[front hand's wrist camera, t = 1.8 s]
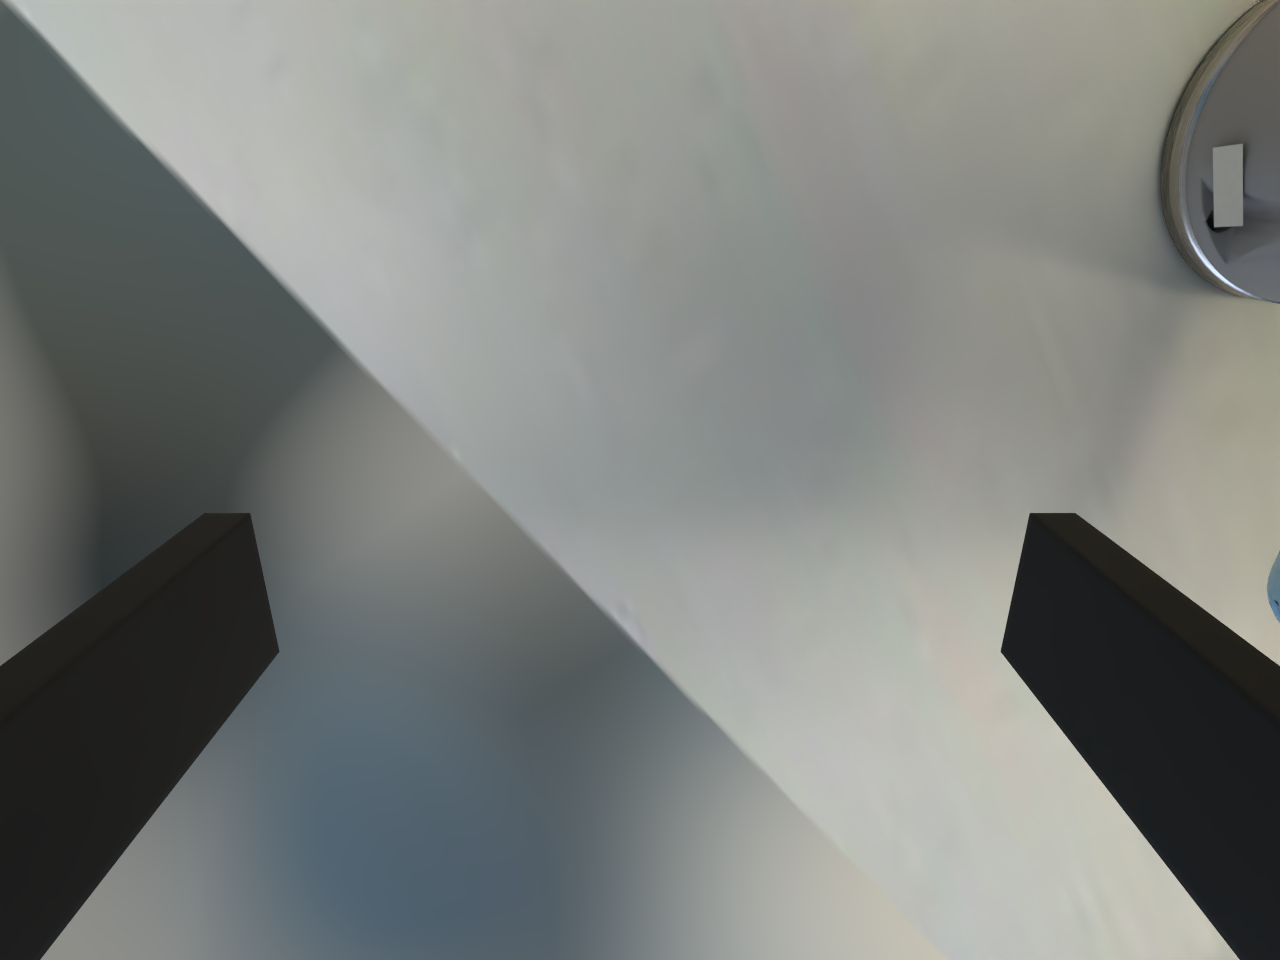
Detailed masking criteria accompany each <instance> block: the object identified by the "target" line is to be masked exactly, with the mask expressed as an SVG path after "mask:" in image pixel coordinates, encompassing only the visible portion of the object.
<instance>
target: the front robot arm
mask: <svg viewBox="0 0 1280 960" xmlns="http://www.w3.org/2000/svg"><path fill="white" fill-rule="evenodd" d="M1161 198H1162V205H1163V212H1164V216H1165V220H1166V224H1167V227H1168V230H1169V232H1170V235H1171V238H1172V240H1173V242H1174V244H1175V246H1176V247H1177V249H1178V251H1179V253H1180V254H1181V255H1182V257H1183V258H1184V260H1185V261H1186V262H1187V263H1188V264H1189V266H1190V267H1191V268H1192V269H1193V270H1194V271H1195V272H1196V273H1197V274H1199V275H1200V276H1201V277H1202V278H1203V279H1205V280H1206V281H1208V282H1209V283H1211V284H1212V285H1214V286H1216V287H1218V288H1220V289H1222V290H1224V291H1226V292H1229V293H1232V294H1235V295H1238V296H1242V297H1247V298H1251V299H1257V300H1262V301H1268V302H1273V303H1280V0H1262V1H1261V2H1260V3H1258V4H1257V5H1256V6H1255V7H1253V8H1252V9H1251V10H1250V11H1248V12H1247V13H1246V14H1245V15H1244V16H1243V17H1242V18H1241V19H1240V20H1238V21H1237V22H1236V23H1235V24H1234V25H1233V26H1232V27H1231V28H1230V29H1229V30H1228V32H1227V33H1226V34H1225V35H1224V36H1223V37H1222V38H1221V39H1220V40H1219V42H1218V43H1217V44H1216V45H1215V46H1214V48H1213V49H1212V50H1211V51H1210V53H1209V54H1208V55H1207V57H1206V58H1205V60H1204V61H1203V62H1202V64H1201V65H1200V67H1199V68H1198V70H1197V71H1196V73H1195V75H1194V76H1193V78H1192V80H1191V81H1190V83H1189V85H1188V87H1187V89H1186V91H1185V93H1184V95H1183V96H1182V98H1181V100H1180V103H1179V105H1178V108H1177V110H1176V112H1175V115H1174V117H1173V120H1172V123H1171V126H1170V130H1169V133H1168V136H1167V140H1166V145H1165V149H1164V155H1163V162H1162V170H1161ZM1267 592H1268V600H1269V603H1270V605H1271V608H1272V610H1273V612H1274V615H1275V617H1276V619H1277V620H1278V621H1279V622H1280V551H1279V554H1278V556H1277V558H1276V560H1275V562H1274V564H1273V567H1272V569H1271V572H1270V574H1269V578H1268V584H1267ZM278 653H279V648H278V643H277V639H276V634H275V629H274V624H273V619H272V615H271V610H270V605H269V601H268V596H267V591H266V586H265V582H264V577H263V572H262V567H261V563H260V558H259V553H258V548H257V544H256V539H255V534H254V529H253V525H252V520H251V515H250V513H204V514H203V515H202V516H200V517H199V518H198V519H196V520H195V521H194V522H192V523H191V524H189V525H188V526H187V527H186V528H184V529H183V530H181V531H180V532H179V533H177V534H176V535H175V536H173V537H172V538H171V539H169V540H168V541H167V542H165V543H164V544H163V545H161V546H160V547H159V548H157V549H156V550H155V551H153V552H152V553H151V554H149V555H148V556H147V557H145V558H144V559H143V560H141V561H140V562H139V563H137V564H136V565H135V566H133V567H132V568H131V569H129V570H128V571H127V572H125V573H124V574H123V575H121V576H120V577H119V578H117V579H116V580H115V581H113V582H112V583H111V584H109V585H108V586H107V587H105V588H104V589H103V590H101V591H100V592H99V593H97V594H96V595H95V596H93V597H92V598H91V599H89V600H88V601H87V602H85V603H84V604H83V605H81V606H80V607H79V608H77V609H76V610H75V611H73V612H72V613H71V614H69V615H68V616H67V617H65V618H64V619H63V620H61V621H60V622H59V623H57V624H56V625H55V626H53V627H52V628H51V629H49V630H48V631H47V632H45V633H44V634H43V635H41V636H40V637H39V638H37V639H36V640H35V641H33V642H32V643H31V644H29V645H28V646H27V647H25V648H24V649H23V650H21V651H20V652H19V653H17V654H16V655H15V656H13V657H12V658H11V659H9V660H8V661H7V662H5V663H4V664H3V665H1V666H0V960H40V959H41V958H42V957H43V955H44V954H45V953H46V951H47V950H48V949H49V948H50V946H51V945H52V944H53V942H54V941H55V940H56V939H57V937H58V936H59V935H60V933H61V932H62V931H63V930H64V928H65V927H66V926H67V924H68V923H69V922H70V921H71V919H72V918H73V917H74V915H75V914H76V913H77V912H78V910H79V909H80V908H81V906H82V905H83V904H84V903H85V901H86V900H87V899H88V897H89V896H90V895H91V894H92V892H93V891H94V890H95V888H96V887H97V886H98V885H99V883H100V882H101V881H102V879H103V878H104V877H105V876H106V874H107V873H108V872H109V870H110V869H111V868H112V866H113V865H114V864H115V863H116V861H117V860H118V859H119V857H120V856H121V855H122V854H123V852H124V851H125V850H126V848H127V847H128V846H129V845H130V843H131V842H132V841H133V839H134V838H135V837H136V835H137V834H138V833H139V832H140V830H141V829H142V828H143V827H144V825H145V824H146V823H147V821H148V820H149V819H150V818H151V816H152V815H153V814H154V812H155V811H156V810H157V808H158V807H159V806H160V805H161V803H162V802H163V801H164V800H165V798H166V797H167V796H168V794H169V793H170V792H171V791H172V789H173V788H174V787H175V785H176V784H177V783H178V781H179V780H180V779H181V778H182V776H183V775H184V774H185V772H186V771H187V770H188V769H189V767H190V766H191V765H192V763H193V762H194V761H195V760H196V758H197V757H198V756H199V754H200V753H201V752H202V751H203V749H204V748H205V747H206V745H207V744H208V743H209V742H210V740H211V739H212V738H213V736H214V735H215V734H216V733H217V731H218V730H219V729H220V727H221V726H222V725H223V723H224V722H225V721H226V720H227V718H228V717H229V716H230V715H231V713H232V712H233V711H234V709H235V708H236V707H237V705H238V704H239V703H240V702H241V700H242V699H243V698H244V696H245V695H246V694H247V693H248V691H249V690H250V689H251V687H252V686H253V685H254V684H255V682H256V681H257V680H258V678H259V677H260V676H261V675H262V673H263V672H264V671H265V669H266V668H267V667H268V666H269V664H270V663H271V662H272V660H273V659H274V658H275V656H276V655H277V654H278ZM1001 653H1002V654H1003V655H1004V657H1005V658H1006V659H1007V660H1008V662H1009V663H1010V664H1011V666H1012V667H1013V668H1014V669H1015V671H1016V672H1017V673H1018V675H1019V676H1020V677H1021V678H1022V680H1023V681H1024V682H1025V684H1026V685H1027V686H1028V687H1029V689H1030V690H1031V691H1032V693H1033V694H1034V695H1035V696H1036V698H1037V699H1038V700H1039V702H1040V703H1041V704H1042V705H1043V707H1044V708H1045V709H1046V711H1047V712H1048V713H1049V715H1050V716H1051V717H1052V718H1053V720H1054V721H1055V722H1056V724H1057V725H1058V726H1059V727H1060V729H1061V730H1062V731H1063V733H1064V734H1065V735H1066V736H1067V738H1068V739H1069V740H1070V742H1071V743H1072V744H1073V745H1074V747H1075V748H1076V749H1077V751H1078V752H1079V753H1080V754H1081V756H1082V757H1083V758H1084V760H1085V761H1086V762H1087V763H1088V765H1089V766H1090V767H1091V769H1092V770H1093V771H1094V772H1095V774H1096V775H1097V776H1098V778H1099V779H1100V780H1101V781H1102V783H1103V784H1104V785H1105V787H1106V788H1107V789H1108V791H1109V792H1110V793H1111V794H1112V796H1113V797H1114V798H1115V800H1116V801H1117V802H1118V803H1119V805H1120V806H1121V807H1122V809H1123V810H1124V811H1125V812H1126V814H1127V815H1128V816H1129V818H1130V819H1131V820H1132V821H1133V823H1134V824H1135V825H1136V827H1137V828H1138V829H1139V830H1140V832H1141V833H1142V834H1143V836H1144V837H1145V838H1146V839H1147V841H1148V842H1149V843H1150V845H1151V846H1152V847H1153V848H1154V850H1155V851H1156V852H1157V854H1158V855H1159V856H1160V857H1161V859H1162V860H1163V861H1164V863H1165V864H1166V865H1167V866H1168V868H1169V869H1170V870H1171V872H1172V873H1173V874H1174V876H1175V877H1176V878H1177V879H1178V881H1179V882H1180V883H1181V885H1182V886H1183V887H1184V888H1185V890H1186V891H1187V892H1188V894H1189V895H1190V896H1191V897H1192V899H1193V900H1194V901H1195V903H1196V904H1197V905H1198V906H1199V908H1200V909H1201V910H1202V912H1203V913H1204V914H1205V915H1206V917H1207V918H1208V919H1209V921H1210V922H1211V923H1212V924H1213V926H1214V927H1215V928H1216V930H1217V931H1218V932H1219V933H1220V935H1221V936H1222V937H1223V939H1224V940H1225V941H1226V942H1227V944H1228V945H1229V946H1230V948H1231V949H1232V950H1233V951H1234V953H1235V954H1236V955H1237V957H1238V958H1239V959H1240V960H1280V666H1279V665H1277V664H1276V663H1275V662H1273V661H1272V660H1271V659H1269V658H1268V657H1267V656H1265V655H1264V654H1263V653H1261V652H1260V651H1259V650H1257V649H1256V648H1255V647H1253V646H1252V645H1251V644H1249V643H1248V642H1247V641H1245V640H1244V639H1243V638H1241V637H1240V636H1239V635H1237V634H1236V633H1235V632H1233V631H1232V630H1231V629H1229V628H1228V627H1227V626H1225V625H1224V624H1223V623H1221V622H1220V621H1219V620H1217V619H1216V618H1215V617H1213V616H1212V615H1211V614H1209V613H1208V612H1207V611H1205V610H1204V609H1203V608H1201V607H1200V606H1199V605H1197V604H1196V603H1195V602H1193V601H1192V600H1191V599H1189V598H1188V597H1187V596H1185V595H1184V594H1183V593H1181V592H1180V591H1179V590H1177V589H1176V588H1175V587H1173V586H1172V585H1171V584H1169V583H1168V582H1167V581H1165V580H1164V579H1163V578H1161V577H1160V576H1159V575H1157V574H1156V573H1155V572H1153V571H1152V570H1151V569H1149V568H1148V567H1147V566H1145V565H1144V564H1143V563H1141V562H1140V561H1139V560H1137V559H1136V558H1135V557H1133V556H1132V555H1131V554H1129V553H1128V552H1127V551H1125V550H1124V549H1123V548H1121V547H1120V546H1119V545H1117V544H1116V543H1115V542H1113V541H1112V540H1111V539H1109V538H1108V537H1107V536H1105V535H1104V534H1103V533H1101V532H1100V531H1099V530H1097V529H1096V528H1095V527H1093V526H1092V525H1091V524H1089V523H1088V522H1087V521H1085V520H1084V519H1082V518H1081V517H1080V516H1078V515H1077V514H1076V513H1030V515H1029V520H1028V525H1027V529H1026V534H1025V539H1024V544H1023V548H1022V553H1021V558H1020V563H1019V567H1018V572H1017V577H1016V582H1015V586H1014V591H1013V596H1012V600H1011V605H1010V610H1009V615H1008V619H1007V624H1006V629H1005V634H1004V638H1003V643H1002V648H1001Z"/></svg>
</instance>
